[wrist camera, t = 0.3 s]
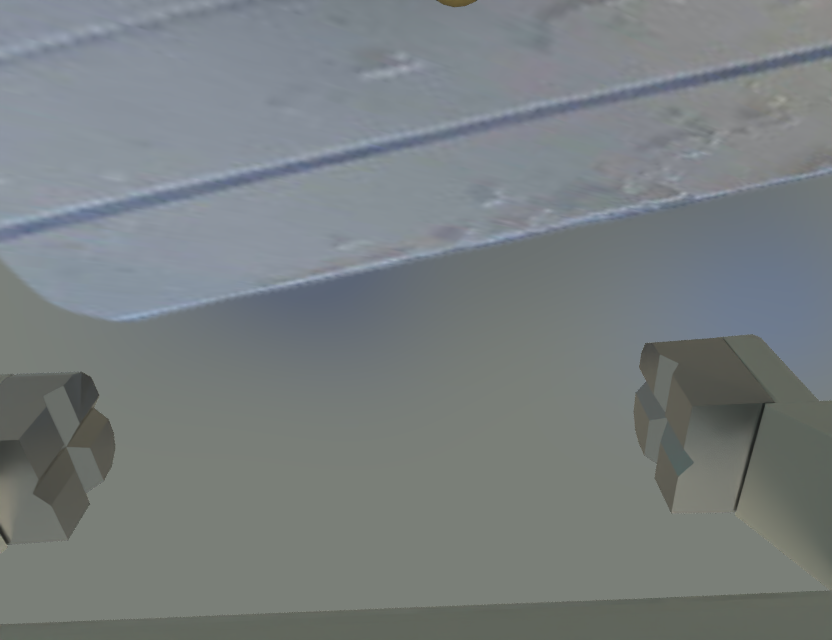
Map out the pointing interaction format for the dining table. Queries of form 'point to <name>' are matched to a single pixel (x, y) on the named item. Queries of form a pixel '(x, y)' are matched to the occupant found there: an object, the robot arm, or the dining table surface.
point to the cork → (456, 2)
